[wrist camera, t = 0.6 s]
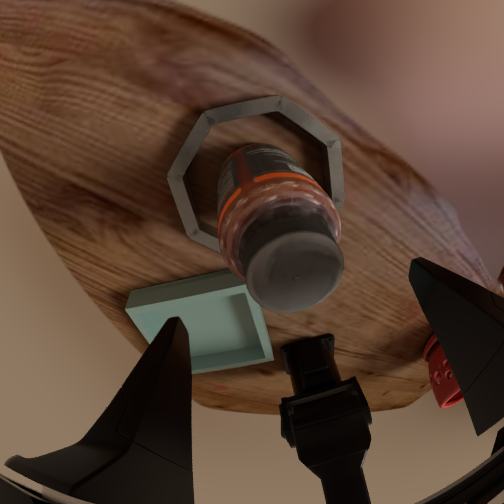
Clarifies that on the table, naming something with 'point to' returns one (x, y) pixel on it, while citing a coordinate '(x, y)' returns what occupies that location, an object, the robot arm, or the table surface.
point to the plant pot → (441, 375)
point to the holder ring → (237, 110)
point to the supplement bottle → (278, 229)
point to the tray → (207, 319)
